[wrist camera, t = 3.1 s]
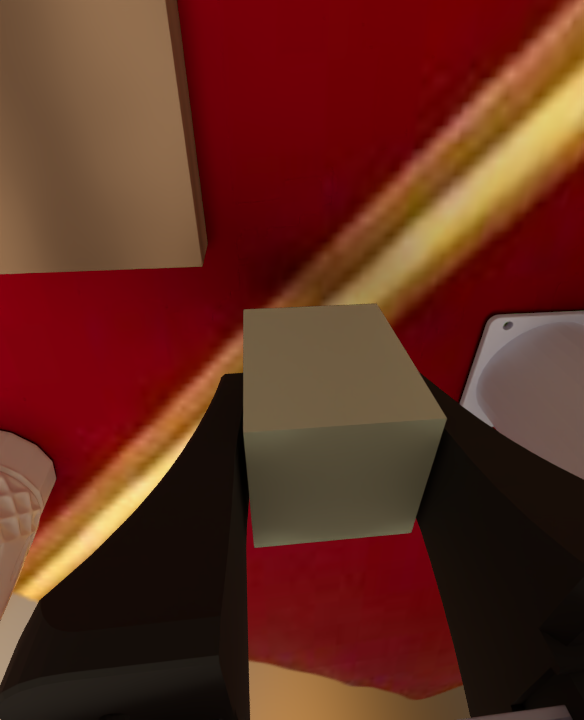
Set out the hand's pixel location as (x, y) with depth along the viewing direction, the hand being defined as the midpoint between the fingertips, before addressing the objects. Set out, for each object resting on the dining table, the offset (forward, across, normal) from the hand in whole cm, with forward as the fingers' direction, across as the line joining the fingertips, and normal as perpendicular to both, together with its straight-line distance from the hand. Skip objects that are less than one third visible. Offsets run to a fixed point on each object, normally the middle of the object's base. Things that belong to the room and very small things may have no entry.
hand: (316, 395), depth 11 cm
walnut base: (+9, +8, -6) cm, 13 cm away
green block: (+2, 0, 0) cm, 2 cm away
